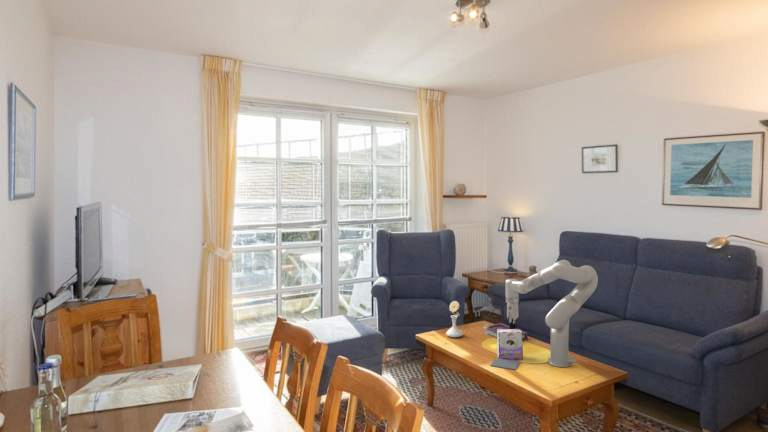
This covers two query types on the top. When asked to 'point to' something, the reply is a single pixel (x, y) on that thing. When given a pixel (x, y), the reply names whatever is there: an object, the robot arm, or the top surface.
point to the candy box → (509, 343)
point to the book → (492, 329)
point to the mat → (505, 363)
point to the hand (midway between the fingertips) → (512, 329)
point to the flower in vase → (454, 321)
